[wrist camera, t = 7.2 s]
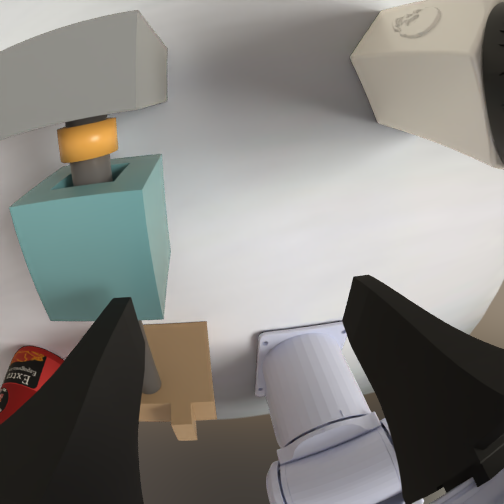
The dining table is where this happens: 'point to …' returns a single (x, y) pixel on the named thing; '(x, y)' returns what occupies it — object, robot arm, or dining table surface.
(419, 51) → the jar
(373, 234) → the dining table surface
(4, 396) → the canned food
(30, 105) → the rod peg assembly
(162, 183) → the sleeve
